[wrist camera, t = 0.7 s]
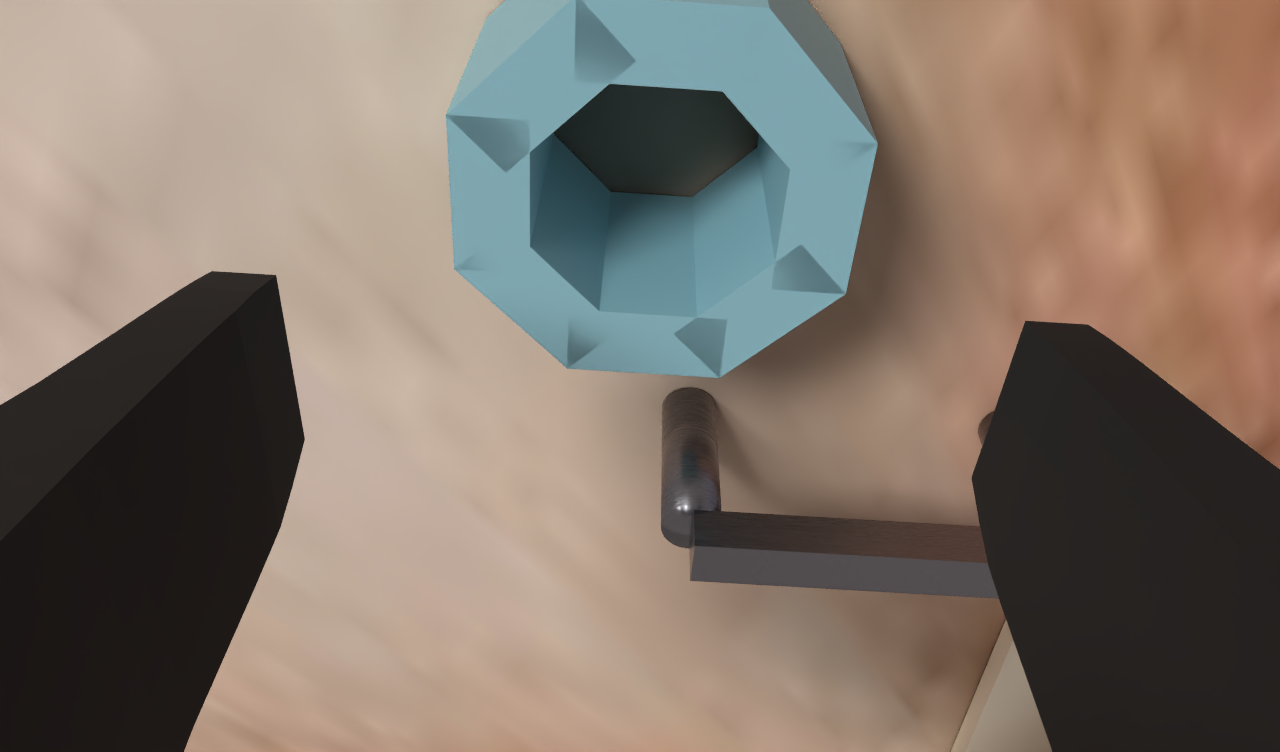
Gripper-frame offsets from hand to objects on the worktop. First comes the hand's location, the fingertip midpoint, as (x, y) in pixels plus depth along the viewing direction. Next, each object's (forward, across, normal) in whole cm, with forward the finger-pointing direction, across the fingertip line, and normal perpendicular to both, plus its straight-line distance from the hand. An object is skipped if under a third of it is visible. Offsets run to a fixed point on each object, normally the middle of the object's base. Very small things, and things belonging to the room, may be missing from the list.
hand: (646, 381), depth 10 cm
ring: (+7, 0, 0) cm, 7 cm away
